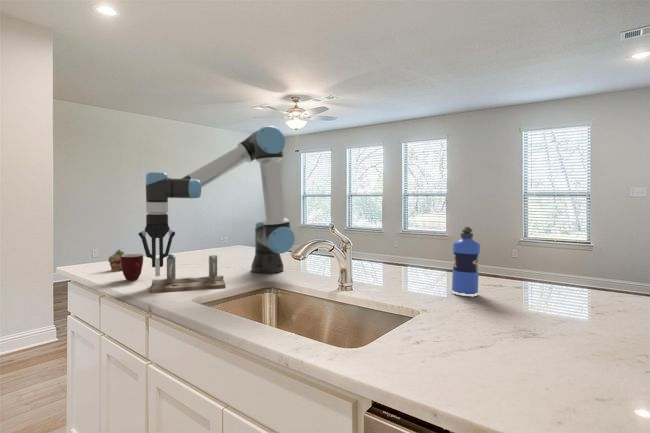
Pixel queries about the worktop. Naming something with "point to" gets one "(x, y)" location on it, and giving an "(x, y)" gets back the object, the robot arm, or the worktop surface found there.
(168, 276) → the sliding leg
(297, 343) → the worktop surface
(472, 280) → the water bottle
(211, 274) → the fixed leg
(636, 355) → the worktop surface
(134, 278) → the mug
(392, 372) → the worktop surface
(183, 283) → the brown wooden board
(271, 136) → the robot arm
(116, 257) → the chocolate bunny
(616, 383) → the worktop surface
